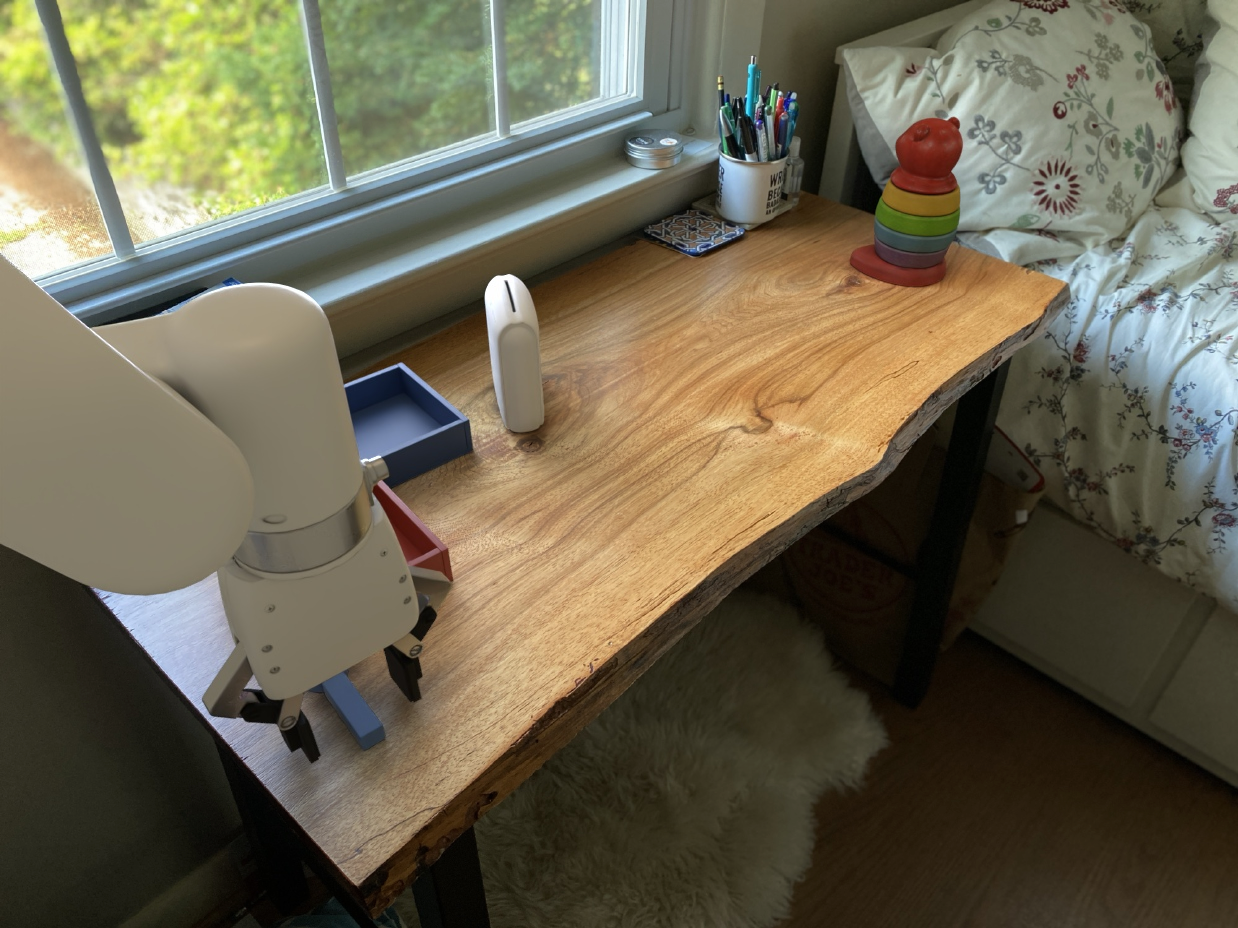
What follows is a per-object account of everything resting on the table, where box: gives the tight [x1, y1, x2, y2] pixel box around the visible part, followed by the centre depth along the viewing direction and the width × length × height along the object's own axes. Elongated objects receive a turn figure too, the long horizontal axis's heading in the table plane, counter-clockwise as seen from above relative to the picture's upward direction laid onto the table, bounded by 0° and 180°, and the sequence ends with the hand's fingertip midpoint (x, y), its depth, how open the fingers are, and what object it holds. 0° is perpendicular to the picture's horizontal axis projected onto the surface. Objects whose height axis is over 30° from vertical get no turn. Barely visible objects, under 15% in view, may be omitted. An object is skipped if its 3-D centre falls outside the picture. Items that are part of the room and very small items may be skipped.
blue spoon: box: [308, 668, 387, 751], centre depth 62 cm, size 9×3×1 cm, turn 39°
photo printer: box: [484, 273, 545, 433], centre depth 86 cm, size 10×4×12 cm, turn 13°
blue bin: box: [343, 362, 474, 489], centre depth 84 cm, size 11×12×4 cm
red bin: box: [372, 480, 454, 597], centre depth 71 cm, size 11×12×4 cm
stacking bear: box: [849, 116, 964, 287], centre depth 107 cm, size 11×10×18 cm
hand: (357, 715), depth 61 cm, fingers open, 6 cm apart
